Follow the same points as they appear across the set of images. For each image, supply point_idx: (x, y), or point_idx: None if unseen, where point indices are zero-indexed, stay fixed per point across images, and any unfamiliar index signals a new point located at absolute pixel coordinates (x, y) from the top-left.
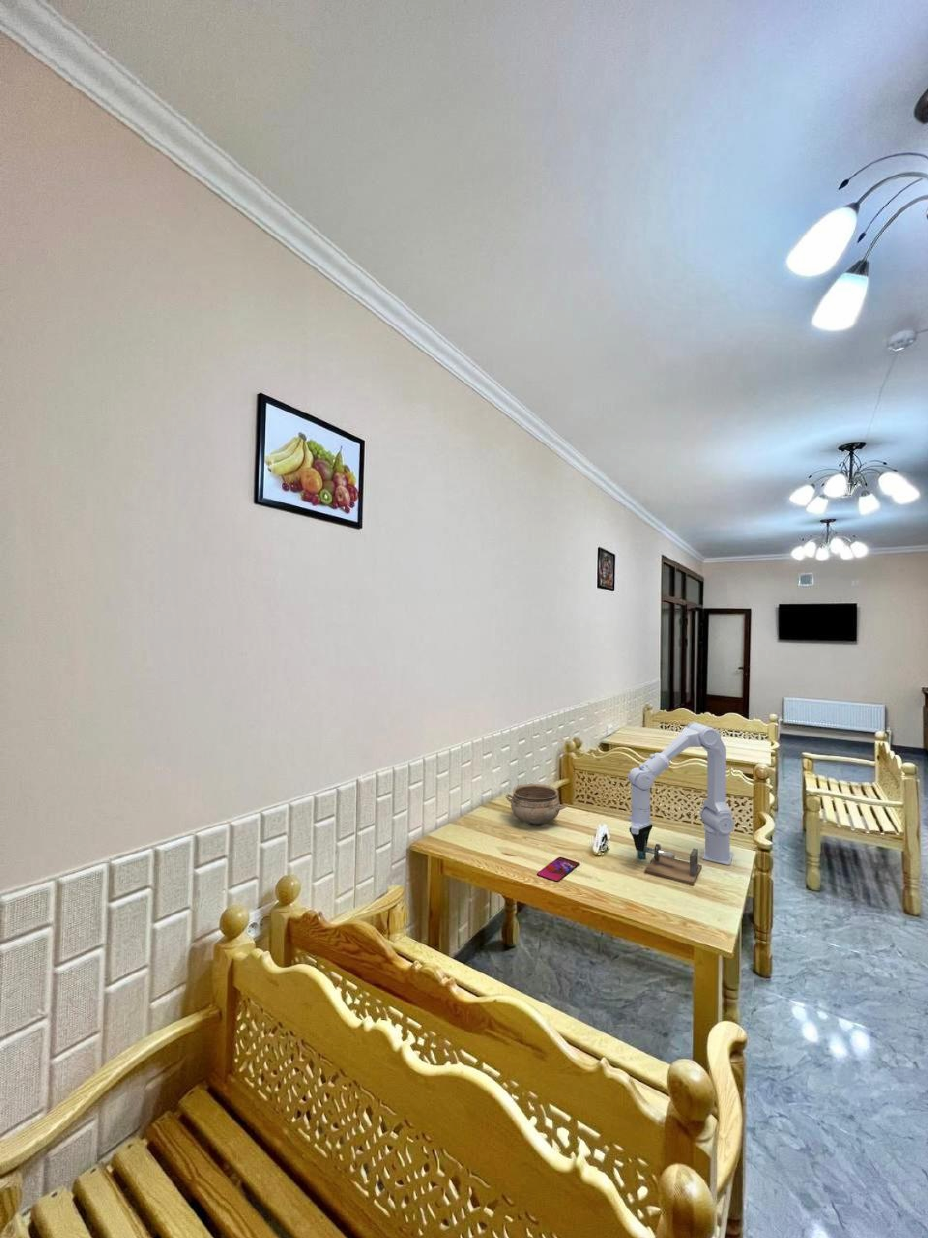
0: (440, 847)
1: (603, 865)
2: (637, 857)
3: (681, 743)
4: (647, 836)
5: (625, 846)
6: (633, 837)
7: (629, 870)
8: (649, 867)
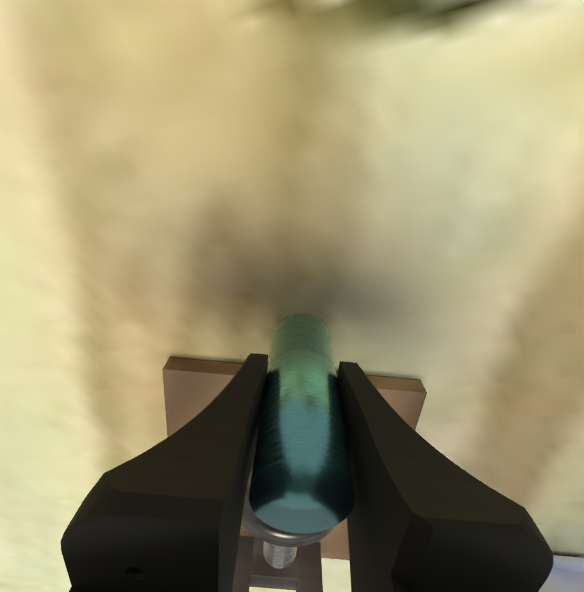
0: None
1: (100, 73)
2: (286, 318)
3: None
4: (348, 516)
5: (552, 168)
6: (183, 431)
7: (150, 275)
8: (211, 388)
